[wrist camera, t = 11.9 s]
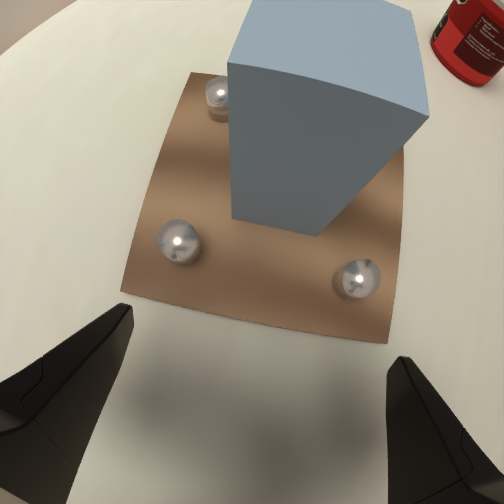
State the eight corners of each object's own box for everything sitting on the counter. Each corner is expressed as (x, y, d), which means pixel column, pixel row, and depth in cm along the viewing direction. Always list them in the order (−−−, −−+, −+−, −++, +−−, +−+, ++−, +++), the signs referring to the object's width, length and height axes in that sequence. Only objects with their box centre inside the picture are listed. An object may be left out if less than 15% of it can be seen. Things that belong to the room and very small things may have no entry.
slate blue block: (316, 237, 19) (429, 116, 7) (231, 218, 19) (227, 62, 7) (326, 162, 20) (410, 11, 8) (249, 145, 20) (265, -29, 8)
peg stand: (381, 343, 19) (407, 346, 15) (124, 292, 18) (103, 286, 15) (398, 125, 22) (416, 101, 18) (192, 78, 22) (187, 49, 18)
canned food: (456, 35, 26) (496, -24, 15) (496, 87, 24) (549, 32, 13) (414, 33, 25) (456, -39, 14) (460, 90, 23) (520, 22, 13)
